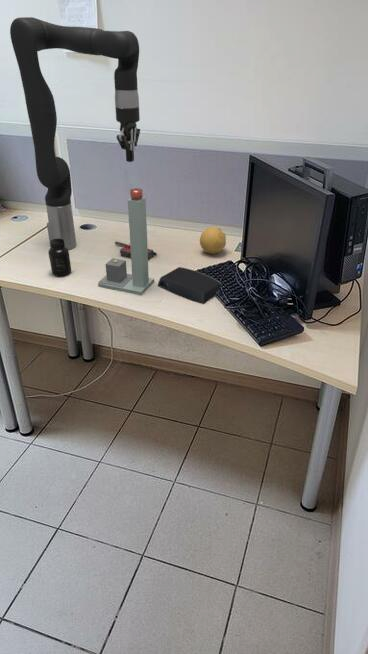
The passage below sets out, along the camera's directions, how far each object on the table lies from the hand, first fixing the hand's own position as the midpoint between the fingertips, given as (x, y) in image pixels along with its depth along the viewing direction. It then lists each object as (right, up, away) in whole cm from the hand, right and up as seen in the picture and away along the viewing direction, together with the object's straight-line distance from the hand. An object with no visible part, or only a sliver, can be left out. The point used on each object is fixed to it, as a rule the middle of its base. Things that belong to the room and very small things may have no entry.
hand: (130, 161), depth 160 cm
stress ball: (+29, -28, +23) cm, 46 cm away
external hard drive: (+20, -43, 0) cm, 48 cm away
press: (-2, -41, +1) cm, 41 cm away
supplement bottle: (-25, -37, +8) cm, 45 cm away
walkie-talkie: (-2, -28, +22) cm, 36 cm away
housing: (-5, -39, +1) cm, 40 cm away
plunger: (+4, -21, -15) cm, 26 cm away
